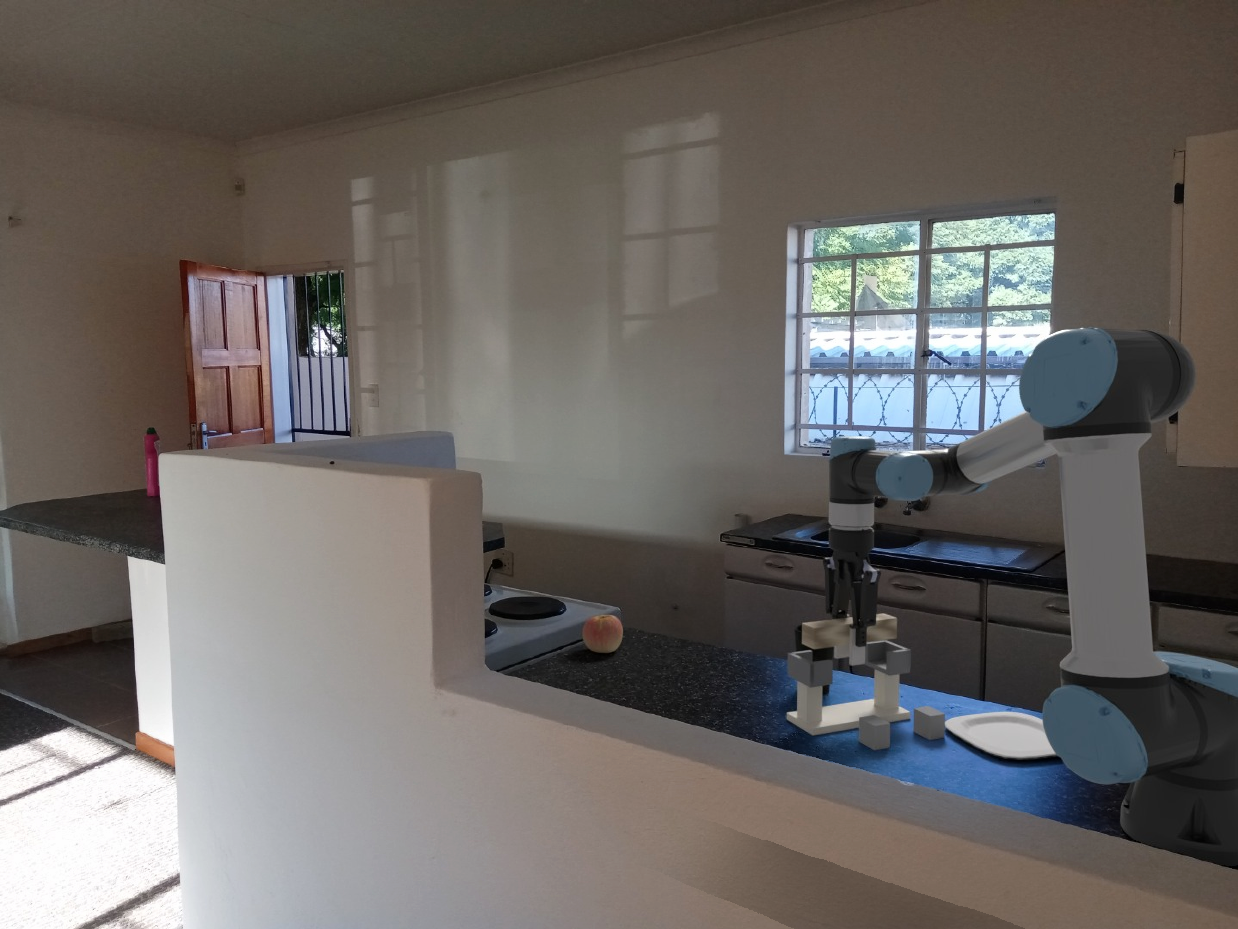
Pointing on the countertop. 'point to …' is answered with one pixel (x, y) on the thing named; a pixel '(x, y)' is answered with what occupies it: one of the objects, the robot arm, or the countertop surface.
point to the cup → (813, 652)
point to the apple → (603, 633)
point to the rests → (925, 724)
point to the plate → (1003, 734)
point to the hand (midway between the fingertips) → (849, 660)
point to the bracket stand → (846, 716)
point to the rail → (845, 631)
